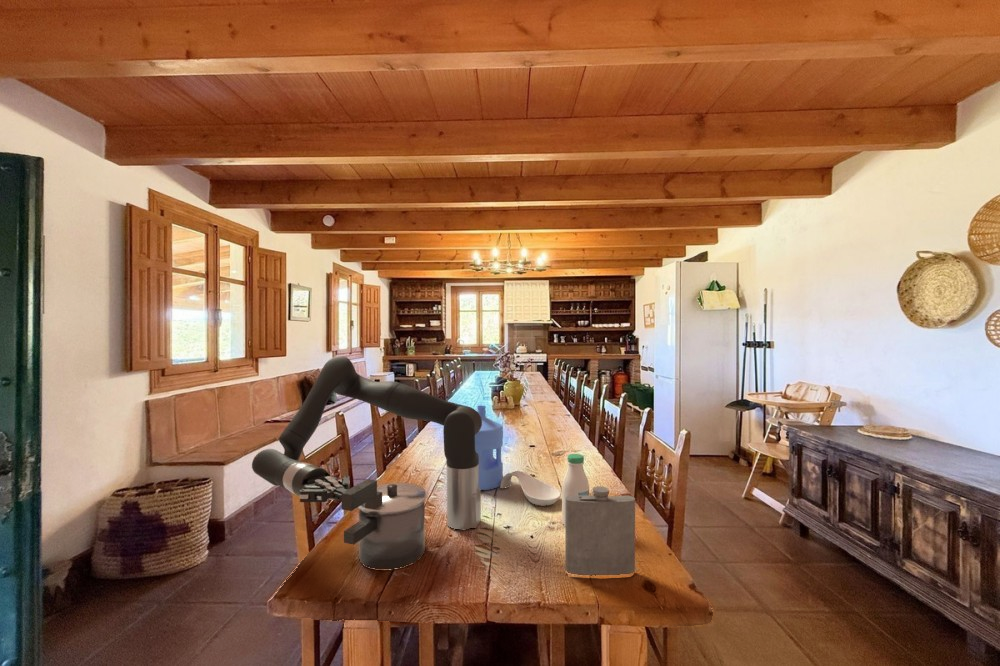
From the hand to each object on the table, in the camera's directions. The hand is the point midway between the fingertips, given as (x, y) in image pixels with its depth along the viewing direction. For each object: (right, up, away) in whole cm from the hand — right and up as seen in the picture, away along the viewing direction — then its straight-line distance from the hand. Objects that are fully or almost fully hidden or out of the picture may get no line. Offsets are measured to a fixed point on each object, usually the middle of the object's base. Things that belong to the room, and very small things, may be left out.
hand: (347, 497), depth 95 cm
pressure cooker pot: (+5, -19, +10) cm, 22 cm away
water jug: (+27, -19, +62) cm, 70 cm away
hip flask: (+56, -20, +4) cm, 60 cm away
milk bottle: (+55, -19, +29) cm, 65 cm away
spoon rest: (+43, -19, +49) cm, 68 cm away
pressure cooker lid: (+5, -6, +9) cm, 12 cm away
